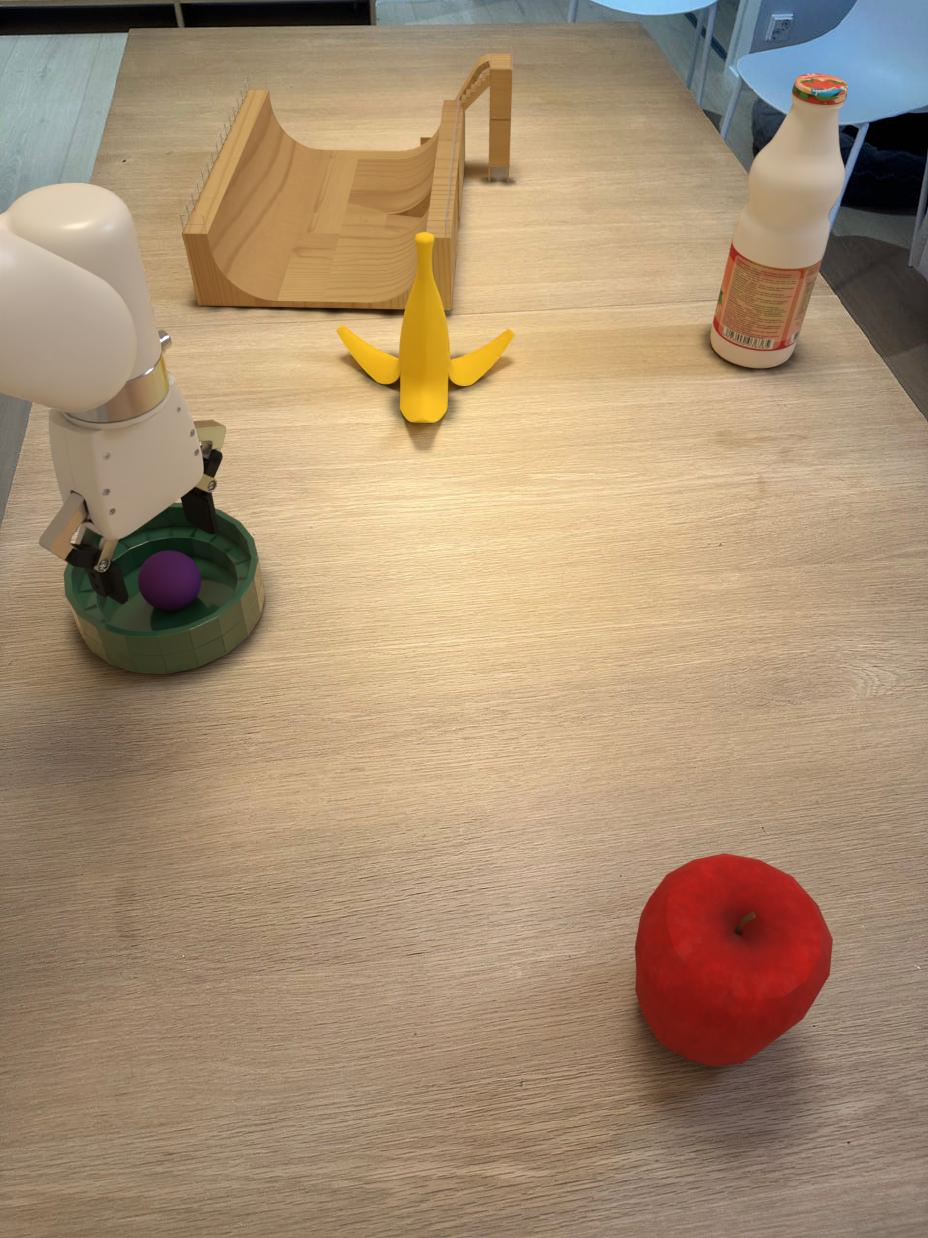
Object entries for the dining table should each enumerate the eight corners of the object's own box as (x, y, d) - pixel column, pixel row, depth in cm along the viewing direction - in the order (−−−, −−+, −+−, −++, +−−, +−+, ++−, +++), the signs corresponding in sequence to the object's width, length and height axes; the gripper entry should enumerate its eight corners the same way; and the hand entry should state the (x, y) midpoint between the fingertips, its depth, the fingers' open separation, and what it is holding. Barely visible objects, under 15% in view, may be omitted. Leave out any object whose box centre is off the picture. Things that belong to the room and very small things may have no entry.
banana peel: (339, 350, 112) (328, 201, 99) (512, 354, 112) (523, 207, 100) (325, 445, 101) (311, 292, 88) (517, 449, 101) (530, 297, 89)
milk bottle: (732, 376, 111) (803, 107, 90) (694, 330, 116) (751, 67, 96) (809, 363, 113) (895, 97, 92) (767, 318, 119) (839, 58, 98)
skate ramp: (259, 159, 145) (240, 35, 133) (509, 163, 144) (513, 38, 132) (199, 312, 118) (168, 173, 106) (506, 318, 117) (510, 178, 105)
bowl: (123, 707, 79) (108, 666, 75) (52, 588, 87) (36, 546, 83) (297, 625, 85) (291, 584, 81) (215, 522, 93) (207, 479, 89)
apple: (751, 921, 69) (807, 815, 58) (808, 1079, 62) (883, 990, 52) (598, 942, 67) (629, 837, 57) (640, 1106, 60) (683, 1020, 50)
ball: (155, 631, 83) (149, 583, 80) (131, 596, 86) (125, 548, 82) (212, 611, 85) (209, 565, 82) (187, 578, 88) (183, 531, 85)
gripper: (165, 306, 75) (202, 484, 88) (-34, 420, 65) (40, 602, 78) (240, 340, 72) (267, 519, 85) (44, 465, 63) (108, 646, 75)
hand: (159, 559), depth 82 cm, fingers open, 9 cm apart
